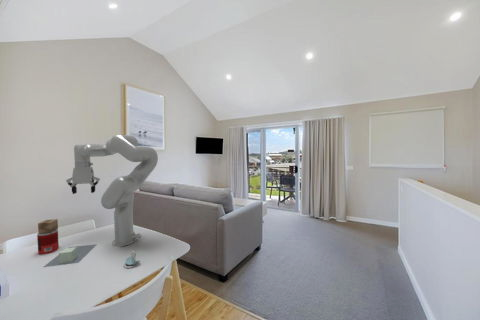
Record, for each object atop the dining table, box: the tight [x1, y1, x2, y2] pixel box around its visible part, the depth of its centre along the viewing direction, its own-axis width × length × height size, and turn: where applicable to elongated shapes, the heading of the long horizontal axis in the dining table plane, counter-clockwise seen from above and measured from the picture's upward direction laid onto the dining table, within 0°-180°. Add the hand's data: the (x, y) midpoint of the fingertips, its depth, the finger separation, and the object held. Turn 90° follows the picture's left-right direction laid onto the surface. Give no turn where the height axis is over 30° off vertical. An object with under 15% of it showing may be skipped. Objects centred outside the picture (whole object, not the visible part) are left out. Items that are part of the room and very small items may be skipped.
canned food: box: [36, 228, 60, 255], centre depth 107 cm, size 8×8×11 cm
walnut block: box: [37, 218, 59, 234], centre depth 106 cm, size 6×6×6 cm
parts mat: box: [43, 243, 98, 268], centre depth 103 cm, size 14×20×1 cm
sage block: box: [58, 246, 77, 264], centre depth 97 cm, size 5×5×5 cm
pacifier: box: [123, 250, 141, 269], centre depth 93 cm, size 7×6×6 cm
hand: (83, 192), depth 122 cm, fingers open, 9 cm apart
